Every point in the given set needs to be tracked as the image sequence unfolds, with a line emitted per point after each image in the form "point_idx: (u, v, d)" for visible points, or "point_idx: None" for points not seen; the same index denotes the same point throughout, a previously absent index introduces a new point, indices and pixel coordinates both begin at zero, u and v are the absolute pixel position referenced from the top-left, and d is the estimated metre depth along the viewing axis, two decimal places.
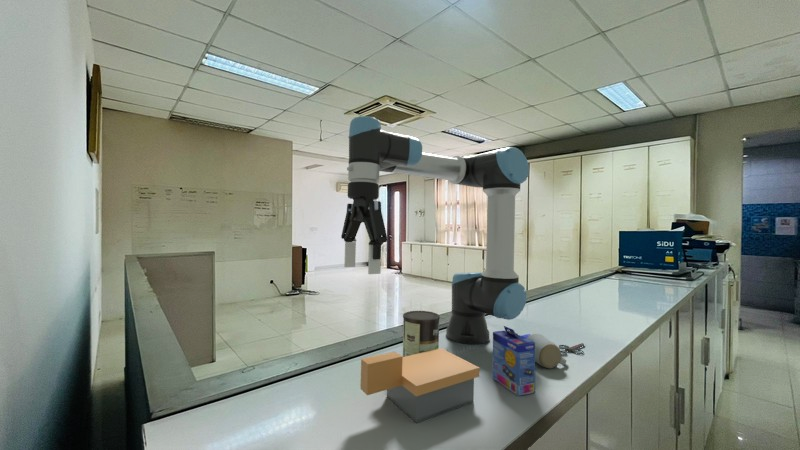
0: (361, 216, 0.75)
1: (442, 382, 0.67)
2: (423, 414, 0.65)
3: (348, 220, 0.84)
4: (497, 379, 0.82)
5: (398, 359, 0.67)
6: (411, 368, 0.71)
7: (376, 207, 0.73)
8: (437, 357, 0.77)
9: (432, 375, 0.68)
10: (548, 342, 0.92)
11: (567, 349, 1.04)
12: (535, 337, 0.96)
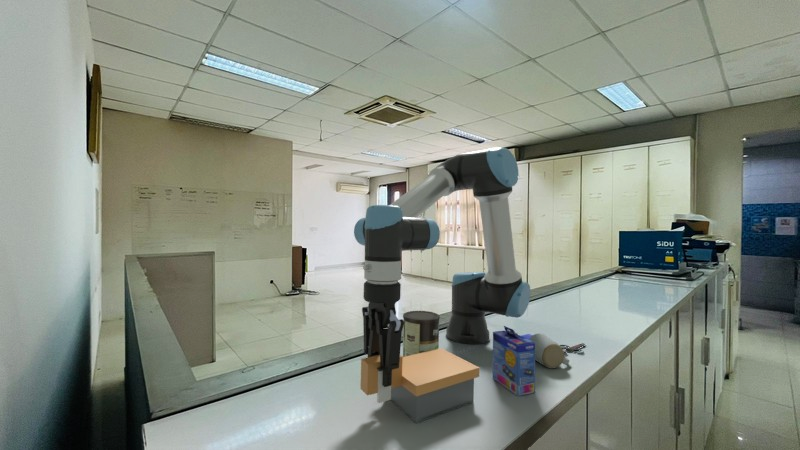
0: (377, 327, 0.64)
1: (442, 382, 0.67)
2: (423, 414, 0.65)
3: (367, 327, 0.70)
4: (497, 379, 0.82)
5: None
6: (411, 368, 0.71)
7: (397, 329, 0.61)
8: (437, 357, 0.77)
9: (432, 375, 0.68)
10: (551, 342, 0.92)
11: (567, 349, 1.04)
12: (538, 337, 0.96)
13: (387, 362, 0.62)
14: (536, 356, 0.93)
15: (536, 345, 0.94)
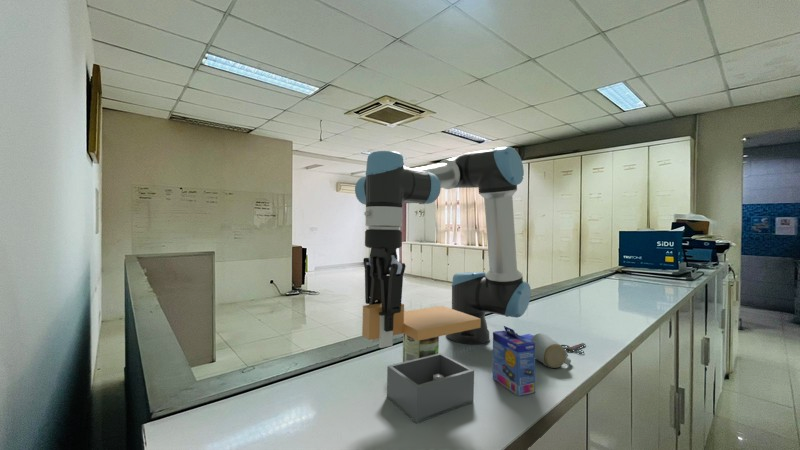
0: (379, 273, 0.64)
1: (443, 329, 0.67)
2: (423, 414, 0.65)
3: (369, 277, 0.70)
4: (497, 379, 0.82)
5: None
6: (413, 319, 0.71)
7: (398, 272, 0.61)
8: (439, 311, 0.78)
9: (434, 323, 0.68)
10: (553, 342, 0.92)
11: (567, 349, 1.04)
12: (539, 337, 0.96)
13: (389, 305, 0.62)
14: (538, 356, 0.93)
15: (538, 345, 0.94)
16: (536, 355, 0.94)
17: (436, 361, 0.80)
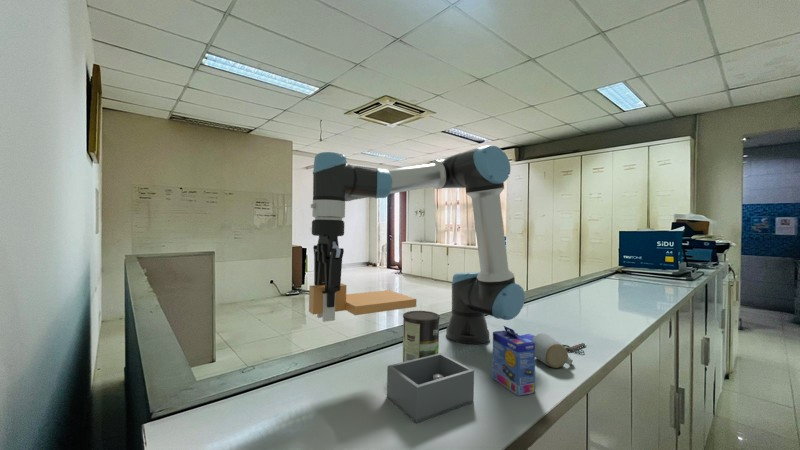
0: (323, 257, 0.74)
1: (380, 306, 0.77)
2: (423, 414, 0.65)
3: (317, 262, 0.80)
4: (497, 379, 0.82)
5: (342, 287, 0.77)
6: (356, 298, 0.81)
7: (337, 256, 0.72)
8: (383, 294, 0.88)
9: (373, 302, 0.78)
10: (554, 342, 0.92)
11: (567, 349, 1.05)
12: (541, 337, 0.96)
13: (329, 284, 0.72)
14: (539, 356, 0.93)
15: (539, 345, 0.94)
16: (538, 355, 0.94)
17: (436, 361, 0.80)
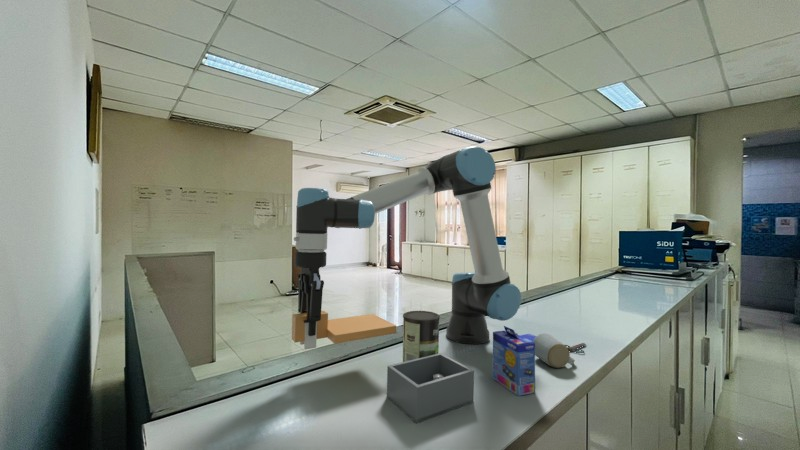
0: (305, 288, 0.78)
1: (360, 334, 0.81)
2: (423, 414, 0.65)
3: (301, 290, 0.84)
4: (497, 379, 0.82)
5: (324, 315, 0.81)
6: (338, 325, 0.85)
7: (318, 288, 0.75)
8: (365, 319, 0.92)
9: (353, 329, 0.82)
10: (556, 342, 0.92)
11: (568, 349, 1.05)
12: (543, 337, 0.96)
13: (310, 315, 0.76)
14: (541, 356, 0.93)
15: (541, 345, 0.94)
16: (540, 355, 0.94)
17: (436, 361, 0.80)
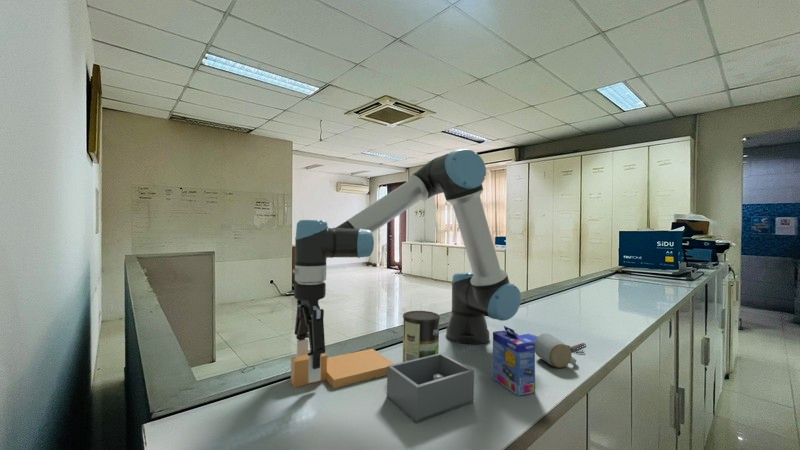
0: (305, 320, 0.78)
1: (359, 376, 0.81)
2: (423, 414, 0.65)
3: None
4: (497, 379, 0.82)
5: (323, 358, 0.81)
6: (337, 365, 0.85)
7: (318, 317, 0.75)
8: (365, 356, 0.92)
9: (352, 371, 0.82)
10: (558, 342, 0.92)
11: None
12: (545, 337, 0.96)
13: (313, 347, 0.73)
14: (543, 356, 0.93)
15: (543, 345, 0.94)
16: (541, 355, 0.94)
17: (436, 361, 0.80)
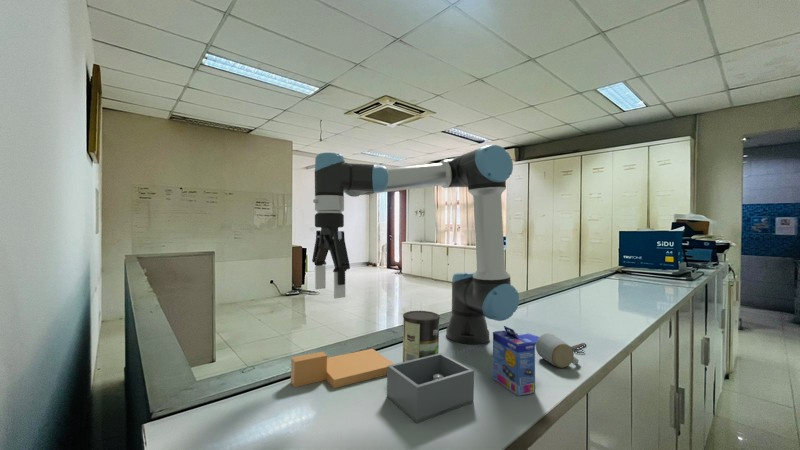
0: (327, 244, 0.83)
1: (359, 376, 0.81)
2: (423, 414, 0.65)
3: (317, 246, 0.91)
4: (497, 379, 0.82)
5: (323, 358, 0.81)
6: (337, 365, 0.85)
7: (340, 237, 0.80)
8: (365, 356, 0.92)
9: (352, 371, 0.82)
10: (560, 342, 0.92)
11: None
12: (547, 337, 0.96)
13: (339, 263, 0.78)
14: (545, 356, 0.93)
15: (545, 345, 0.94)
16: (544, 355, 0.94)
17: (436, 361, 0.80)
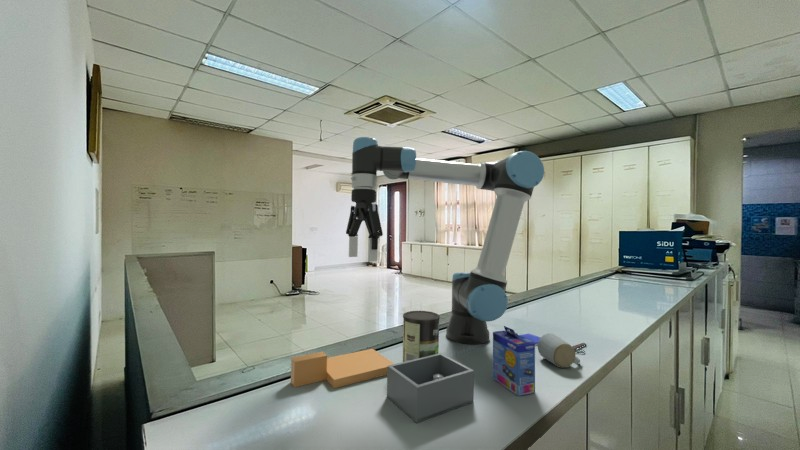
0: (362, 216, 0.96)
1: (359, 376, 0.81)
2: (423, 414, 0.65)
3: (351, 219, 1.05)
4: (497, 379, 0.82)
5: (323, 358, 0.81)
6: (337, 365, 0.85)
7: (374, 209, 0.94)
8: (365, 356, 0.92)
9: (352, 371, 0.82)
10: (562, 342, 0.92)
11: None
12: (549, 337, 0.96)
13: (373, 230, 0.91)
14: (547, 356, 0.94)
15: (547, 345, 0.94)
16: (545, 355, 0.94)
17: (436, 361, 0.80)
